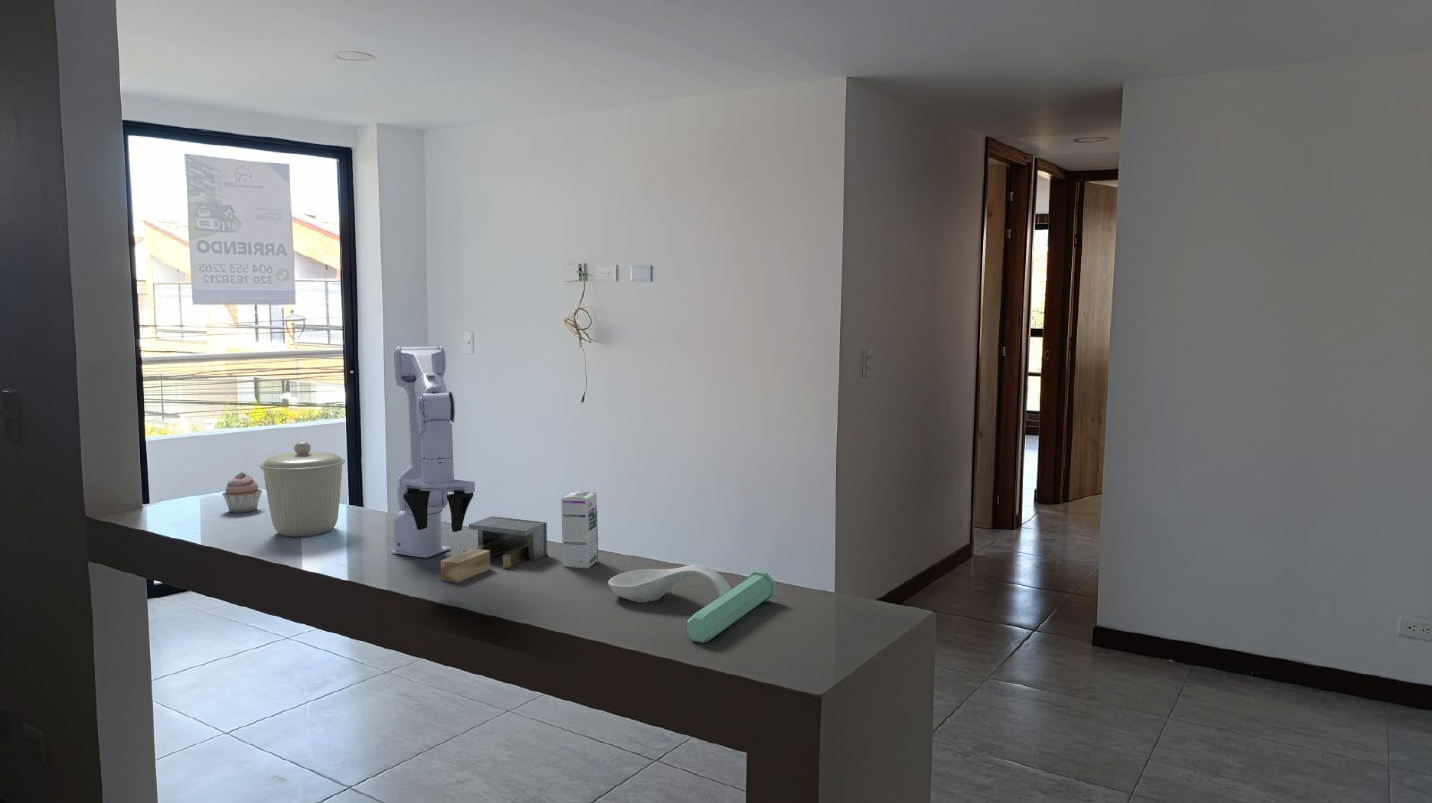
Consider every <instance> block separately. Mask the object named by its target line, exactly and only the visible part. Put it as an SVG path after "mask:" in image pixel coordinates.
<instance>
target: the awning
mask: <svg viewBox="0 0 1432 803" xmlns="http://www.w3.org/2000/svg"><path fill="white" fill-rule="evenodd" d="M547 524H548V523H547V521H546V522H544V521H539V520H538V521H536V520H527V519H519V518H510V517H504V516H503V517H501V516H500V517H499V516H487V517H486V518H482V519H480V520H478V521H474V522H471V523H468V530H473V531H474V530H475V531H477V547H475V548H468V549H463V551H462V553H463V552H466V551H468V550H471V549H481V550H489V551H490V558H491V557H494V556H497V555H498V554H499V555H500V553H503V552H504V553H503V555H502V569H512V567H513V565H514V564H517V563H519V562H521V561H524V560H526V559H528V561H532V562H534V561H537V560H539V559H542V558H543V557H545V556H547V555H548V525H547ZM493 555H494V556H493Z"/></svg>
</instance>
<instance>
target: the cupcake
mask: <svg viewBox="0 0 1432 803" xmlns="http://www.w3.org/2000/svg"><path fill="white" fill-rule="evenodd" d="M226 484H227V486H226V488H225V491H224V492H222V493H221V495H222V496H223V498H224V500H225V503H226V505H227V507H228V508H227V509H228V511H229V512H230V513H234V514H243V513H250V512H254V511H256V510H257V509H258V505H259V502H260V498H261V495H262V493H263V490H261V488H259V485H258V483H257V482H256V481H255V480H254V478H253V477H252V476H251V475H250V474H248V473H246V472H244V471H241V472H239V473H237V475H236V476H234V477H233V479H230V480H228V481H227V483H226Z"/></svg>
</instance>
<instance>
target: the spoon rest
mask: <svg viewBox="0 0 1432 803" xmlns="http://www.w3.org/2000/svg"><path fill="white" fill-rule="evenodd" d="M688 576H697V577H700V578H702V579H703V580H706V581H707V582H709V583H710V584H711V586H712V587H713V588H714V590H715V593H716V596H717V599H718V598H719V597H721V596H722V595H724V594H725V593H727V592H728V591H730V590H732V589H731V587H730V585H729V583H728V581H727V580H726V579H725V578H724V577H723V576H722V575H721V574H719V573H718V572H717V571H715V569H712V568H710V567H707V566H705V565H702V564H690V565H689V564H687V565H684V566H680V567H675V568H667V569H663V568H662V569H661V568H658V569H656V568H652V569H651V568H650V569H635V570H630V571H625V572H622V573H619V574H617V575H614V576H613V577H611V578H610V579H609V580H608V581H607V584H608V586H609V588H611V590H612V591H613V592H614V593H615V594H616V595H617V596H618V597H621V598H623V599H626V600H627V599H628V601H630V600H631V601H630V602H634V601H637V602H636V603H648V602H647V601H652V602H655V601H654V600H656V601H658V600H660V599H661V598H660V597H663V596H664V595H665V594H666V593H668V592H669V591H670V590H671V589H672V588H673V587H674V586H675V585H676V584H677V583H678V582H680V580H682V579H683V578H686V577H688ZM659 598H660V599H659ZM657 599H658V600H657Z"/></svg>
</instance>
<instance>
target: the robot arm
mask: <svg viewBox="0 0 1432 803" xmlns="http://www.w3.org/2000/svg"><path fill="white" fill-rule="evenodd" d="M393 362H394V363H393V366H394V380H395V381H394V382H396V385H397V386H399V387H401V388H404V390H405V393H406V395H407V401H408V403H407V404H408V424H409V428H408V429H409V448H410V465H409V466H408V467H406V468H405V469H404V470H403V471H401V472H400V473H399V476H398V478H397V504H398V508H399V510H400V511H399V512H397V514H396V515H395V518H394V520H393V545H394V550H391V554H396V555H404V556H408V557H417V558H423V559H426V558H430V557H434V556H436V555H440V554H442V553H444V552H447V551H449V550H452V549H451V546H446V545H445V546H444V545H443V544H442V542H443V540H442V539H443V538H442V513H441V512H443V509H445V508H446V507H447V506H449V511H450V521H451V523H450V525H451V530H452V533H457V532H460V531H462V530H463V524H464V521H465V516H466V513H467V510H468V508H469V505H470V503H471V501H472V499H473V497H474V493H475V492H476V488H475V487H476V484H475V483H476V481H475V480H474V481H472V480H471V481H469V480H464V479H463V480H460V479H455V478H454V477H455V476H454V474H455V473H454V472H455V471H454V445H453V444H454V443H453V423H455V417H456V404H455V403H456V402H455V397H454V395H453V391H447V387H446V383H445V381H444V375H445V374H446V368H447V366H446V352H445V348H444V347H443V346H442V345H438V346H396V348H395V349H394V352H393ZM449 493H450V494H449Z"/></svg>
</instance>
